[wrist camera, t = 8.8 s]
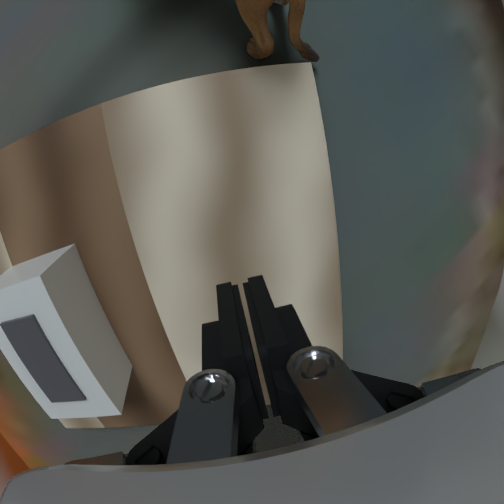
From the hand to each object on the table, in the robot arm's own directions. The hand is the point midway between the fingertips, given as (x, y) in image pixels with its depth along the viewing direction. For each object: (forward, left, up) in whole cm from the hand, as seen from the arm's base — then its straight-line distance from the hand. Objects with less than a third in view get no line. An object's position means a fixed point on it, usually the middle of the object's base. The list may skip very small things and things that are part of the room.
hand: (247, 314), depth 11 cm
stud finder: (+10, +1, -5) cm, 11 cm away
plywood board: (+5, +1, -6) cm, 8 cm away
